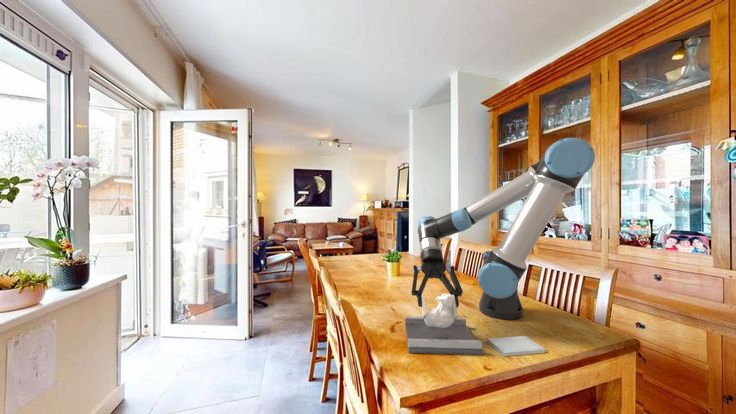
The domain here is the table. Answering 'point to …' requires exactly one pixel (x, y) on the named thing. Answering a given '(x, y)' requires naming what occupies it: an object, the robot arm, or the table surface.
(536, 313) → the table surface
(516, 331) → the table surface
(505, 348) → the hard drive
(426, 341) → the rail plate
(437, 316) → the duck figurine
